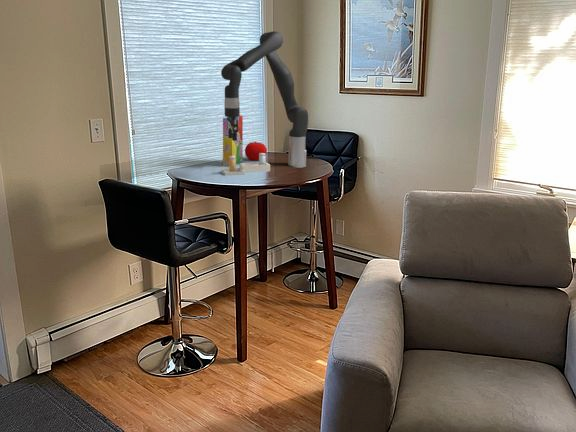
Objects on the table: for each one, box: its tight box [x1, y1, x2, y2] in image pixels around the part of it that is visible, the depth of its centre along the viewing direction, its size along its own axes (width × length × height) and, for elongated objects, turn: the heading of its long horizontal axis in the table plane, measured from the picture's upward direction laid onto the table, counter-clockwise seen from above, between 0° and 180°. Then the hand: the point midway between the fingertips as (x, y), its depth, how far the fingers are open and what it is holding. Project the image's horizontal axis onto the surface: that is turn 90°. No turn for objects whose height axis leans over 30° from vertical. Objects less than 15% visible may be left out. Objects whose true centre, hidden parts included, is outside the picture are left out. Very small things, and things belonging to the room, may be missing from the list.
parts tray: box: [220, 167, 245, 176], centre depth 280 cm, size 10×10×2 cm
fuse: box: [258, 153, 266, 165], centre depth 288 cm, size 3×3×9 cm
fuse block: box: [239, 161, 271, 173], centre depth 287 cm, size 15×7×4 cm, turn 109°
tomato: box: [244, 141, 268, 161], centre depth 323 cm, size 12×13×11 cm
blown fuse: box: [228, 156, 237, 172], centre depth 279 cm, size 3×3×9 cm
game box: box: [222, 114, 244, 168], centre depth 303 cm, size 21×6×27 cm, turn 168°
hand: (232, 139), depth 275 cm, fingers open, 8 cm apart
